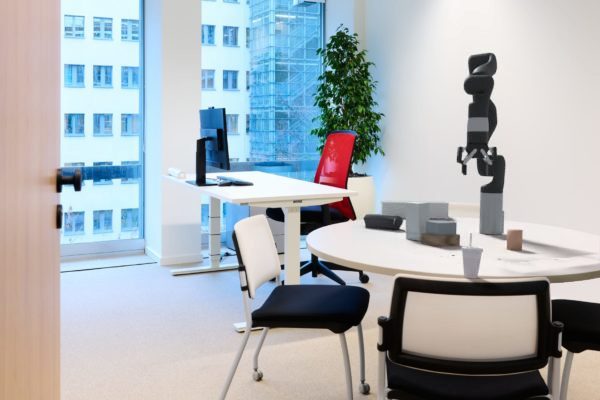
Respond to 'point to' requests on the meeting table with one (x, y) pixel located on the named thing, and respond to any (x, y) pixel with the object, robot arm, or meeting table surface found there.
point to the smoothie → (471, 260)
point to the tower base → (440, 240)
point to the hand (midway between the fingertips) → (476, 175)
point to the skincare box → (416, 219)
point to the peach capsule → (514, 239)
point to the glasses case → (383, 221)
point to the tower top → (441, 227)
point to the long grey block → (398, 207)
